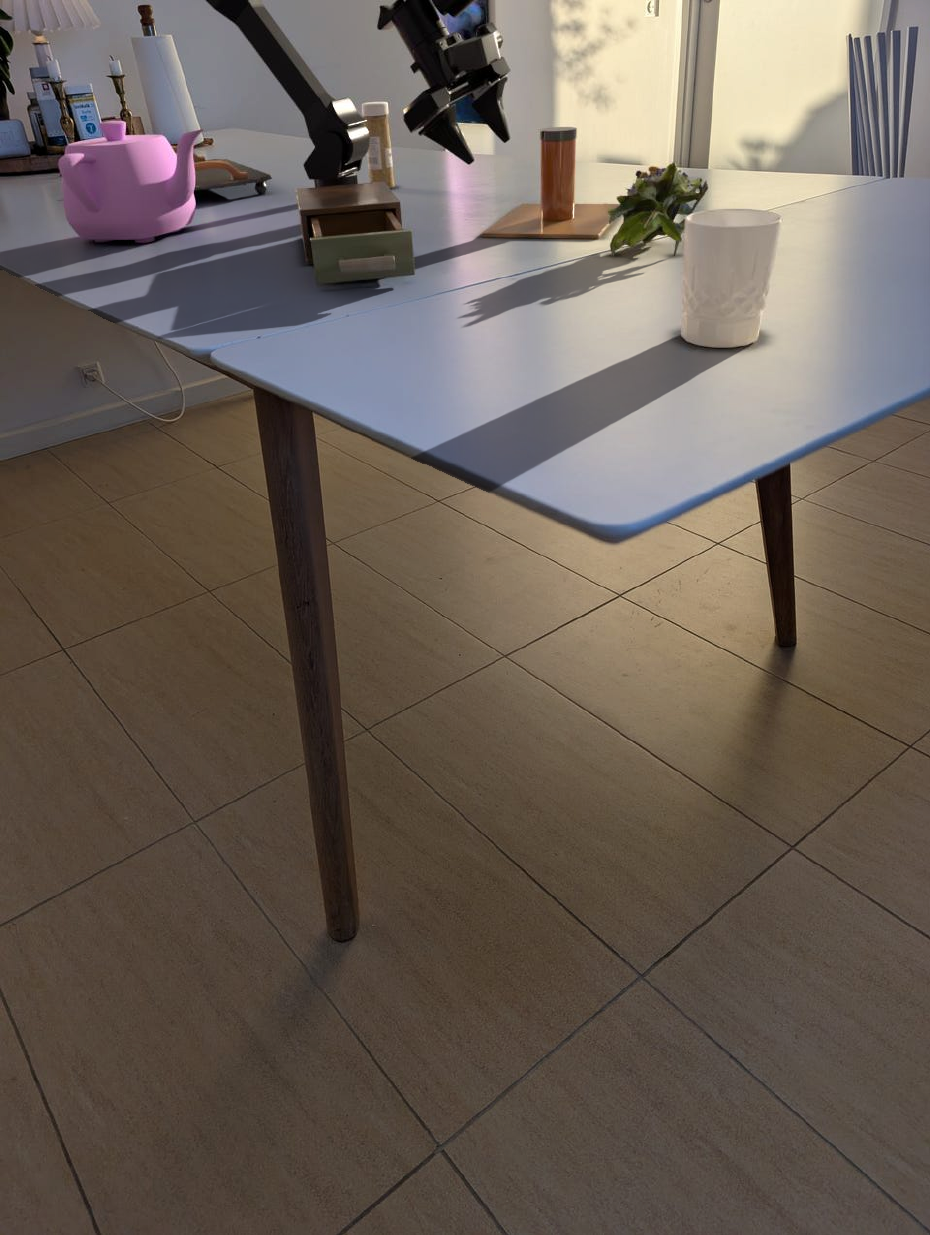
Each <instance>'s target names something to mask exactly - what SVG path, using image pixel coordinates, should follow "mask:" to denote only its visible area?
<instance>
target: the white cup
mask: <svg viewBox="0 0 930 1235" xmlns="http://www.w3.org/2000/svg"><path fill="white" fill-rule="evenodd" d="M684 219H685V221H684V231H683V246H682V248H683V250H682V268H681V270H682V271H681V306H682V312H681V326H680V328H681V329H680V336H681V338H682V339H683V340H684V341H686V342H687V343H689V344H693V345H696V346H699V347H707V348H719V349H720V348H721V349H722V348H725V349H726V348H729V349H730V348H737V347H743V346H748V345H750V344H752V343H755V342H757V341H758V339H759V334H760V330H761V324H762V319H763V315H764V310H765V309H766V305H767V299H768V294H769V292H770V286H771V280H772V279H771V278H772V275H773V272H774V267H775V261H776V254H777V249H778V242H779V238H780V232H781V228H782V222H783V217H782V215H780V214H778V213H777V212H773V211H769V210H763V209H751V208H717V209H707V210H701V211H696V212H692V214H689V215H685V217H684Z"/></svg>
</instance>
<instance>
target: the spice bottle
mask: <svg viewBox="0 0 930 1235" xmlns="http://www.w3.org/2000/svg"><path fill="white" fill-rule="evenodd" d="M577 137H578V128H577V127H575V126H551V127H545V128H544V127H543V128H541V129H539V141H540V204H541V219H542V220H546V221H564V220H570V219H573V218H574V204H576V202H575V201H576V200H575V199H576V197H575V195H576V152H577V150H576V146H577V145H576V144H577Z"/></svg>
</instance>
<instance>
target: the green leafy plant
mask: <svg viewBox="0 0 930 1235" xmlns="http://www.w3.org/2000/svg"><path fill="white" fill-rule="evenodd" d="M647 170H648V172H647V171H642V170H637V171H636V172H635V177H636V179H635V181H634V182H633V183H632V185H631V186H630V187H629V188H624V189H625V190H627V192H626V194H627V195H622V194H621V195H618V196H616V201H617V202H618V204H620V205H619V206H618V207H616V208H613V209H608V214H609V215H611V216H610V218H609V224H611V222H612V221H613V222H614V221H615V220H616V219H617V218H620V217H623V219H622V220H623V221H622V223H621V225H620V226H619V228H618V230H617V232H616V233H615V234H614V235H613V237H612V239H611V241H610V243H609V248H610V249H609V250H610V252H611V254H612V256H615V254H616V251H618V250H619V249H620V248H622V247H624V246H628V247H629V248H630V247H635V245H638V244H639V243H641V242H642V243H644V244H647V243H650V242H652V241H653V240H654V238H656V237H658V236H667V237H669V238H670V239H672V240H674V241H675V244H674V249H673V250H674V251H673V255H672V256H673V257H675V256H676V255H677V251H678V248H679V246H680V243H681V242H682V241H683V239H682V235H683V233H684V221H685V218H683V219H682V221H680V222H676V221H675V219H676V217H677V216H678V215H680V216H687V215H689V214H692V213H694V211H695V209H696V207H697V206H698V205H699V203H700V202H701V200H702V198H703V197H704V196H705V195H706V193H707V191H708V190H709V185H708V181H707V179H706V180H705V181H704V183H703V185H702V182H703V178H702V177H698V178H696V179H694V180H690V179H689V175H688V174H686V172H684V171H683V172H682V170H681V169H679V170H678V165H677V164H676V162H675V161H672V163H669V164H668V165H666V167H662V168H661V167H658V166H653V165H651V166H649V167H648V168H647ZM690 186H691V187H692V189H690V190H689V189H688V187H690ZM697 189H698V190H699V191H698V190H697ZM693 201H695V202H694V203H693V205H692V206H691V205H690V204H689V203H690V202H693ZM613 222H612V223H613ZM611 225H612V224H611Z"/></svg>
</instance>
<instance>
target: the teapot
mask: <svg viewBox="0 0 930 1235" xmlns="http://www.w3.org/2000/svg"><path fill="white" fill-rule="evenodd" d="M97 125H98V127H99V129H100V131H101V133H102V135H103V136H102V137H95V138H88V139H85V140H79V141H74V142H72V143H69V144H67V145H66V146H65V150H64V155H63V156H61V157H60V158H59V160H58V170H59V172H60V173H59V174H60V175H61V194H62V195H61V196H62V204H63V210H64V215H65V219H66V221H67V222H68V225H69V226H70V227H71V229H72V230H73V231H74V232H75V233H76V234H77V235H78V237H79V238H81V239H85V240H95V241H94V242H95V243H106V242H112V241H117V240H118V241H121V240H122V241H123V240H124V241H127V240H128V241H129V240H134V242H135V243H137V244H139V243H140V244H143V243H144V244H145V243H151V242H154V241H155V240H156V239H155V237H158V236H162V235H165V234H171V233H177V232H180V231H182V229H183V228H185V227H187V226H188V225H190V224H191V223H192V222H193V219H194V216H195V213H196V208H197V207H196V206H197V205H196V198H195V194H194V192H195V191H194V188H195V169H194V161H193V152H194V146H195V142H196V140H197V138H198V137H199V136H200V135H201V133H202V132H204V131H205V128H200V129H197V130H196V129H195V130H191V131H187V132H184V133H182V134H181V136H180V137H179V139H178V143H177V146H178V147H177V153H175V152H174V150H173V149H172V147H171V146H172V145H171V144H170V142H169V141H168V139H167V138H166V136H164V135H163V134H126V132H127V131H126V130H127V122H126V121H124V120H109V121H102V122H100V123H98V124H97Z"/></svg>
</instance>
